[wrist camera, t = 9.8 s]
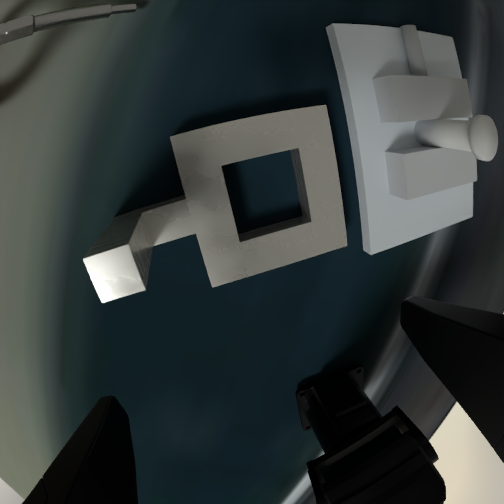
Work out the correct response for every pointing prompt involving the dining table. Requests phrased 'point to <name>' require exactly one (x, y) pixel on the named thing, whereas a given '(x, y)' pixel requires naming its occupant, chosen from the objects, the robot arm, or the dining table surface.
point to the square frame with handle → (219, 209)
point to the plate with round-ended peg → (408, 130)
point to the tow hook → (59, 19)
